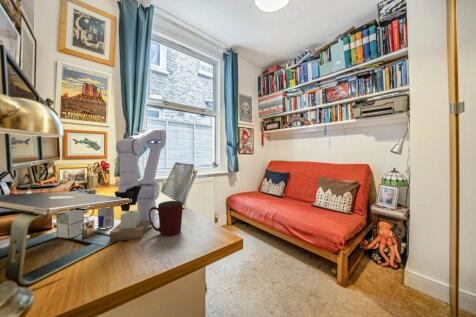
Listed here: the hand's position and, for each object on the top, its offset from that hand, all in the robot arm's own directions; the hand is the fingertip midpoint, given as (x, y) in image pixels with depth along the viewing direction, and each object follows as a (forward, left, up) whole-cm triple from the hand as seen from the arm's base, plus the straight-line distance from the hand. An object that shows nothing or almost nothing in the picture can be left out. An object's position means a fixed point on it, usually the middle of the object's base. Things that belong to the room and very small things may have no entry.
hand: (129, 207), depth 70 cm
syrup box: (-3, -21, -10) cm, 23 cm away
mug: (+2, +13, -10) cm, 17 cm away
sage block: (0, 0, -7) cm, 7 cm away
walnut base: (0, 0, -10) cm, 10 cm away
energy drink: (-9, -12, -10) cm, 18 cm away
